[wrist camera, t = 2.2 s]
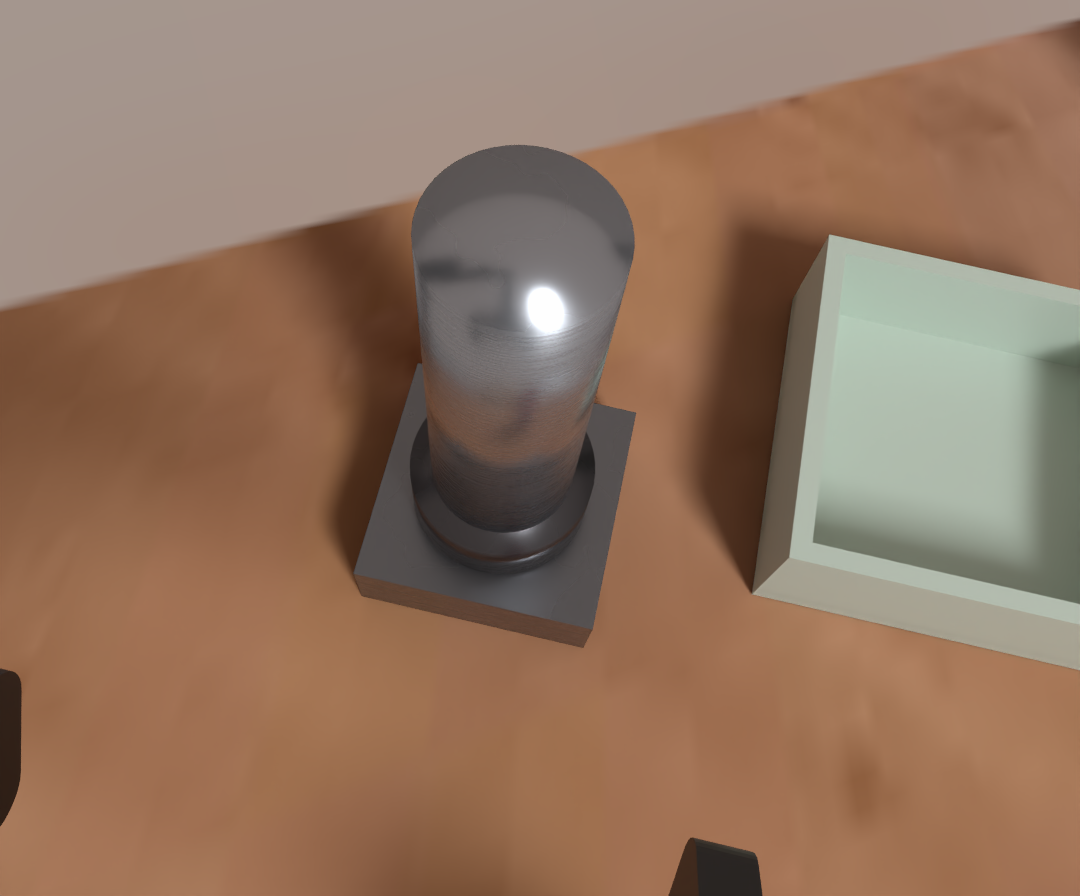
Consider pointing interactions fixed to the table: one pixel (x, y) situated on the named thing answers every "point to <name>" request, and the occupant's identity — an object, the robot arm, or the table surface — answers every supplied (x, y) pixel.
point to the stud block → (491, 599)
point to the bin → (929, 452)
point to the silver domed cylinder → (512, 349)
